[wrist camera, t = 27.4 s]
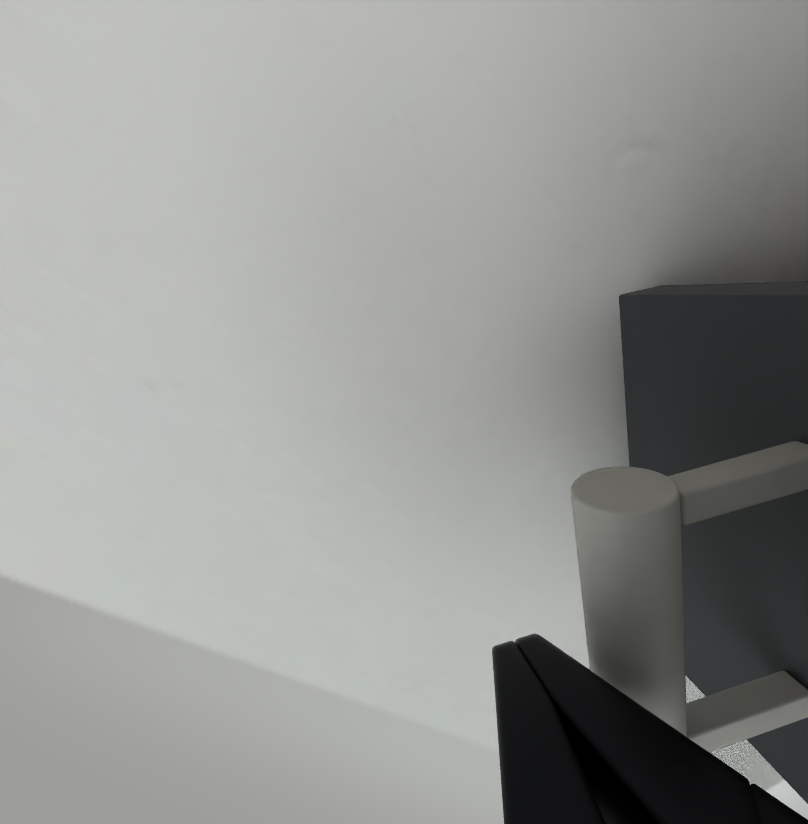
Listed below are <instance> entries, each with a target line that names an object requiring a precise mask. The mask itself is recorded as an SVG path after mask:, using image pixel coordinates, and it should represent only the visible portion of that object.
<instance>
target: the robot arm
mask: <svg viewBox="0 0 808 824" xmlns="http://www.w3.org/2000/svg"><path fill="white" fill-rule="evenodd" d="M492 656H493V670H494V684H495V698H496V713H497V727H498V741H499V756H500V770H501V784H502V798H503V813H504V824H808V820H807V819H806V818H804V817H802V816H801V815H800V814H798V813H797V812H795V811H794V810H792V809H791V808H789V807H788V806H786V805H785V804H783V803H782V802H780V801H779V800H778V799H776V798H775V797H773V796H771V795H770V794H769V793H767V792H766V791H765V790H763V789H762V788H760V787H759V786H757V785H756V784H751V785H750V784H749V781H748V779H747V778H745V777H744V776H743V775H741V774H740V773H738V772H737V771H735V770H734V769H732V768H731V767H729V766H728V765H727V764H725V763H724V762H722V761H721V760H719V759H718V758H716V757H715V756H714V755H712V754H711V753H709V752H708V751H706V750H705V749H703V748H702V747H701V746H699V745H698V744H696V743H695V742H693V741H692V740H690V739H689V738H688V737H686V736H685V735H683V734H682V733H680V732H679V731H677V730H676V729H674V728H673V727H672V726H670V725H669V724H667V723H666V722H664V721H663V720H661V719H660V718H659V717H657V716H656V715H654V714H653V713H651V712H650V711H648V710H647V709H646V708H644V707H643V706H641V705H640V704H638V703H637V702H635V701H634V700H633V699H631V698H630V697H628V696H627V695H625V694H624V693H622V692H621V691H619V690H618V689H617V688H615V687H614V686H612V685H611V684H609V683H608V682H606V681H605V680H604V679H602V678H601V677H599V676H598V675H596V674H595V673H593V672H592V671H591V670H589V669H588V668H586V667H585V666H583V665H582V664H580V663H579V662H578V661H576V660H575V659H573V658H572V657H570V656H569V655H567V654H566V653H564V652H563V651H562V650H560V649H559V648H557V647H556V646H554V645H553V644H551V643H550V642H549V641H547V640H546V639H544V638H543V637H541V636H540V635H538V634H531V635H528V636H525V637H522V638H518V639H517V640H516V641H515V643H514V642H513V641H509V642H506V643H503V644H499V645H496V646H494V647H493V649H492Z"/></svg>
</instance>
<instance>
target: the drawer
mask: <svg viewBox="0 0 808 824" xmlns="http://www.w3.org/2000/svg"><path fill="white" fill-rule="evenodd" d="M619 306H620V321H621V337H622V353H623V368H624V384H625V399H626V415H627V431H628V446H629V462H630V467H607V468H601V469H597V470H593V471H590V472H587V473H585V474H583V475H581V476H580V477H578V478H577V479H576V480H575V481H574V483H573V485H572V487H571V497H572V506H573V516H574V525H575V534H576V544H577V553H578V562H579V572H580V581H581V591H582V600H583V609H584V619H585V628H586V637H587V647H588V656H589V665H590V670H591V671H592V672H593V673H595V674H596V675H598V676H599V677H601V678H602V679H604V680H605V681H606V682H608V683H609V684H611V685H612V686H614V687H615V688H617V689H618V690H619V691H621V692H622V693H624V694H625V695H627V696H628V697H630V698H631V699H633V700H634V701H635V702H637V703H638V704H640V705H641V706H643V707H644V708H646V709H647V710H648V711H650V712H651V713H653V714H654V715H656V716H657V717H659V718H660V719H661V720H663V721H664V722H666V723H667V724H669V725H670V726H672V727H673V728H674V729H676V730H677V731H679V732H680V733H682V734H683V735H685V736H686V737H688V738H689V739H690V740H692V741H693V742H695V743H696V744H698V745H699V746H701V747H702V748H703V749H705V750H706V751H708V752H712V751H715V750H718V749H721V748H723V747H726V746H729V745H732V744H734V743H737V742H740V741H743V740H746V739H747V740H748V741H749V742H750V743H751V745H752V746H753V747H754V748H755V749H756V750H757V751H758V752H759V753H760V754H761V755H762V756H763V757H764V758H765V759H766V760H767V761H768V762H769V763H770V765H771V766H772V767H773V768H774V769H775V770H776V771H777V772H778V773H779V774H780V775H781V776H782V777H783V778H784V779H785V780H786V781H787V782H788V784H790V786H791V787H792V788H793V789H794V790H795V791H796V792H797V793H798V794H799V795H800V796H801V797H802V798H803V799H804V800H805V801H806V802H807V804H808V281H807V282H776V283H740V284H703V285H667V286H657V287H653V288H648V289H644V290H639V291H635V292H631V293H626V294H622V295H620V296H619ZM685 675H686V676H687V677H688V678H689V679H690V680H691V681H692V682H693V683H694V684H695V685H696V686H697V688H698V689H699V690H700V691H701V692H702V693H703V694H704V695H705V696H706V697H704V698H701V699H698V700H695V701H692V702H689V703H686V683H685Z"/></svg>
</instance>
